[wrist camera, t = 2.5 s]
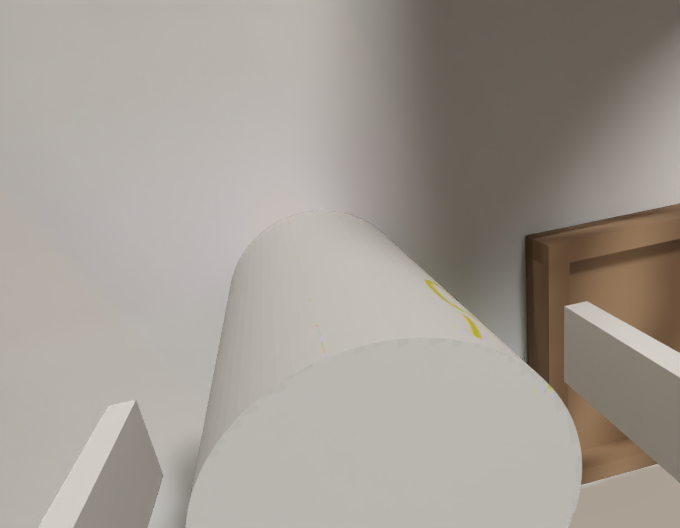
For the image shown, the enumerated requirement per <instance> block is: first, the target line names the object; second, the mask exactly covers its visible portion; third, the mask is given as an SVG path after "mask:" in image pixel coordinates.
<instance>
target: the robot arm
mask: <svg viewBox="0 0 680 528" xmlns="http://www.w3.org/2000/svg"><path fill="white" fill-rule="evenodd" d="M564 382H565V383H566V384H568V385H569V386H570V387H571V388H572V389H573V390H574V391H576V392H577V393H578V394H579V395H580V396H581V397H582V398H584V399H585V400H586V401H587V402H588V403H589V404H590V405H592V406H593V407H594V408H595V409H596V410H597V411H598V412H600V413H601V414H602V415H603V416H604V417H605V418H606V419H608V420H609V421H610V422H611V423H612V424H613V425H614V426H616V427H617V428H618V429H619V430H620V431H621V432H622V433H624V434H625V435H626V436H627V437H628V438H629V439H630V440H632V441H633V442H634V443H635V444H636V445H637V446H638V447H640V448H641V449H642V450H643V451H644V452H645V453H646V454H648V455H649V456H650V457H651V458H652V459H653V460H654V461H656V462H657V463H658V464H659V465H660V466H661V467H662V468H664V469H665V470H666V471H667V472H668V473H669V474H670V475H672V476H673V477H674V478H675V479H676V480H677V481H678V482H680V353H679V352H677V351H675V350H674V349H672V348H670V347H668V346H666V345H665V344H663V343H661V342H659V341H657V340H656V339H654V338H652V337H650V336H648V335H647V334H645V333H643V332H641V331H640V330H638V329H636V328H634V327H632V326H631V325H629V324H627V323H625V322H623V321H622V320H620V319H618V318H616V317H614V316H613V315H611V314H609V313H607V312H605V311H604V310H602V309H600V308H598V307H597V306H595V305H593V304H591V303H589V302H588V301H586V302H581V303H577V304H572V305H567V306H564ZM162 478H163V473H162V470H161V468H160V465H159V462H158V459H157V456H156V454H155V451H154V448H153V445H152V443H151V440H150V437H149V434H148V432H147V429H146V426H145V423H144V420H143V418H142V415H141V412H140V409H139V407H138V404H137V401H136V400H132V401H128V402H123V403H119V404H114V405H110V406H108V407H107V409H106V411H105V413H104V414H103V416H102V418H101V420H100V421H99V423H98V425H97V426H96V428H95V430H94V432H93V433H92V435H91V437H90V439H89V440H88V442H87V444H86V446H85V447H84V449H83V451H82V452H81V454H80V456H79V458H78V459H77V461H76V463H75V465H74V466H73V468H72V470H71V471H70V473H69V475H68V477H67V478H66V480H65V482H64V484H63V485H62V487H61V489H60V490H59V492H58V494H57V496H56V497H55V499H54V501H53V503H52V504H51V506H50V508H49V509H48V511H47V513H46V515H45V516H44V518H43V520H42V522H41V523H40V525H39V527H38V528H147V527H148V524H149V521H150V517H151V514H152V511H153V508H154V504H155V501H156V498H157V495H158V491H159V488H160V485H161V482H162Z"/></svg>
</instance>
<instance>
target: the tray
mask: <svg viewBox="0 0 680 528" xmlns="http://www.w3.org/2000/svg"><path fill="white" fill-rule="evenodd" d="M526 281H527V326H528V365H529V366H530V367H531V368H532V369H533V370H534V371H535V372H536V373H538V374H539V375H540V376H541V377H542V378H543V379H544V380H545V381H546V382H547V383H548V384H549V385H550V386H551V387H552V388H553V389H554V391H555V392H556V393H557V394H558V396H559V397H560V398H561V400H562V401H563V403H564V404H565V406H566V408H567V409H568V411H569V413H570V415H571V417H572V419H573V422H574V425H575V427H576V430H577V434H578V438H579V441H580V447H581V454H582V480H581V485H582V484H586V483H590V482H593V481H597V480H600V479H604V478H608V477H611V476H615V475H618V474H622V473H626V472H629V471H633V470H636V469H640V468H644V467H647V466H651V465H654V464H658V463H657V462H656V461H654V460H653V459H652V458H651V457H650V456H649V455H648V454H646V453H645V452H644V451H643V450H642V449H641V448H640V447H638V446H637V445H636V444H635V443H634V442H633V441H632V440H630V439H629V438H628V437H627V436H626V435H625V434H624V433H622V432H621V431H620V430H619V429H618V428H617V427H616V426H614V425H613V424H612V423H611V422H610V421H609V420H608V419H606V418H605V417H604V416H603V415H602V414H601V413H600V412H598V411H597V410H596V409H595V408H594V407H593V406H592V405H590V404H589V403H588V402H587V401H586V400H585V399H584V398H582V397H581V396H580V395H579V394H578V393H577V392H576V391H574V390H573V389H572V388H571V387H570V386H569V385H568V384H566V383H565V382H564V306H567V305H572V304H577V303H581V302H586V301H588V302H589V303H591V304H593V305H595V306H597V307H598V308H600V309H602V310H604V311H605V312H607V313H609V314H611V315H613V316H614V317H616V318H618V319H620V320H622V321H623V322H625V323H627V324H629V325H631V326H632V327H634V328H636V329H638V330H640V331H641V332H643V333H645V334H647V335H648V336H650V337H652V338H654V339H656V340H657V341H659V342H661V343H663V344H665V345H666V346H668V347H670V348H672V349H674V350H675V351H677V352H679V353H680V204H676V205H671V206H667V207H662V208H657V209H652V210H647V211H643V212H638V213H633V214H628V215H623V216H619V217H614V218H609V219H604V220H599V221H594V222H590V223H585V224H580V225H575V226H570V227H566V228H561V229H556V230H551V231H546V232H542V233H537V234H532V235H527V236H526Z"/></svg>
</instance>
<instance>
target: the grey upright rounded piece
mask: <svg viewBox="0 0 680 528" xmlns="http://www.w3.org/2000/svg"><path fill="white" fill-rule="evenodd" d="M581 480H582V454H581V447H580V441H579V438H578V434H577V430H576V427H575V425H574V422H573V419H572V417H571V415H570V413H569V411H568V409H567V408H566V406H565V404H564V403H563V401H562V400H561V398H560V397H559V396H558V394H557V393H556V392H555V391H554V389H553V388H552V387H551V386H550V385H549V384H548V383H547V382H546V381H545V380H544V379H543V378H542V377H541V376H540V375H539V374H538V373H536V372H535V371H534V370H533V369H532V368H531V367H530V366H529V365H528V364H526V363H525V362H524V361H523V360H522V359H521V358H520V357H519V356H518V355H517V354H515V353H514V352H513V351H512V350H511V349H510V348H509V347H508V346H507V345H505V344H504V343H503V342H502V341H501V340H500V339H499V338H498V337H497V336H496V335H494V334H493V333H492V332H491V331H490V330H489V329H488V328H487V327H486V326H485V325H483V324H482V323H481V322H480V321H479V320H478V319H477V318H476V317H475V316H473V315H472V314H471V313H470V312H469V311H468V310H467V309H466V308H465V307H464V306H462V305H461V304H460V303H459V302H458V301H457V300H456V299H455V298H454V297H453V296H451V295H450V294H449V293H448V292H447V291H446V290H445V289H444V288H443V287H441V286H440V285H439V284H438V283H437V282H436V281H435V280H434V279H433V278H432V277H430V276H429V275H428V274H427V273H426V272H425V271H424V270H423V269H422V268H421V267H419V266H418V265H417V264H416V263H415V262H414V261H413V260H412V259H411V258H409V257H408V256H407V255H406V254H405V253H404V252H403V251H402V250H401V249H400V248H398V247H397V246H396V245H395V244H394V243H393V242H392V241H391V240H390V239H389V238H387V237H386V236H385V235H384V234H383V233H382V232H381V231H379V230H378V229H377V228H376V227H374V226H373V225H371V224H370V223H368V222H366V221H364V220H362V219H360V218H358V217H355V216H353V215H349V214H346V213H342V212H336V211H310V212H305V213H300V214H296V215H293V216H290V217H288V218H285V219H283V220H281V221H279V222H277V223H275V224H273V225H272V226H270V227H269V228H267V229H266V230H265V231H263V232H262V233H261V234H260V235H259V236H258V237H256V238H255V239H254V241H253V242H252V243H251V244H250V245H249V246H248V247H247V249H246V250H245V252H244V253H243V255H242V256H241V258H240V260H239V262H238V264H237V266H236V268H235V271H234V274H233V277H232V281H231V286H230V292H229V297H228V302H227V307H226V313H225V318H224V323H223V328H222V333H221V339H220V344H219V349H218V354H217V360H216V365H215V370H214V375H213V380H212V386H211V391H210V396H209V401H208V407H207V412H206V417H205V422H204V427H203V433H202V438H201V443H200V448H199V454H198V459H197V464H196V469H195V474H194V480H193V485H192V490H191V495H190V501H189V506H188V511H187V517H186V528H569V525H570V523H571V520H572V518H573V515H574V512H575V509H576V506H577V502H578V497H579V493H580V488H581Z"/></svg>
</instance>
